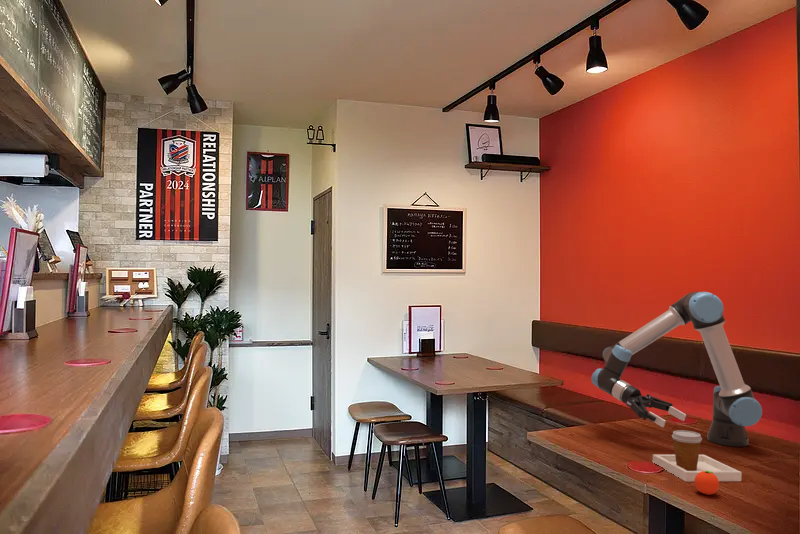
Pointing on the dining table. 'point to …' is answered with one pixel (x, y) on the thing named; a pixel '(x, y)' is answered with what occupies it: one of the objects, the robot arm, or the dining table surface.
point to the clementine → (706, 482)
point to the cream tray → (698, 468)
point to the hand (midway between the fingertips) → (674, 420)
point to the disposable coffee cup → (686, 449)
